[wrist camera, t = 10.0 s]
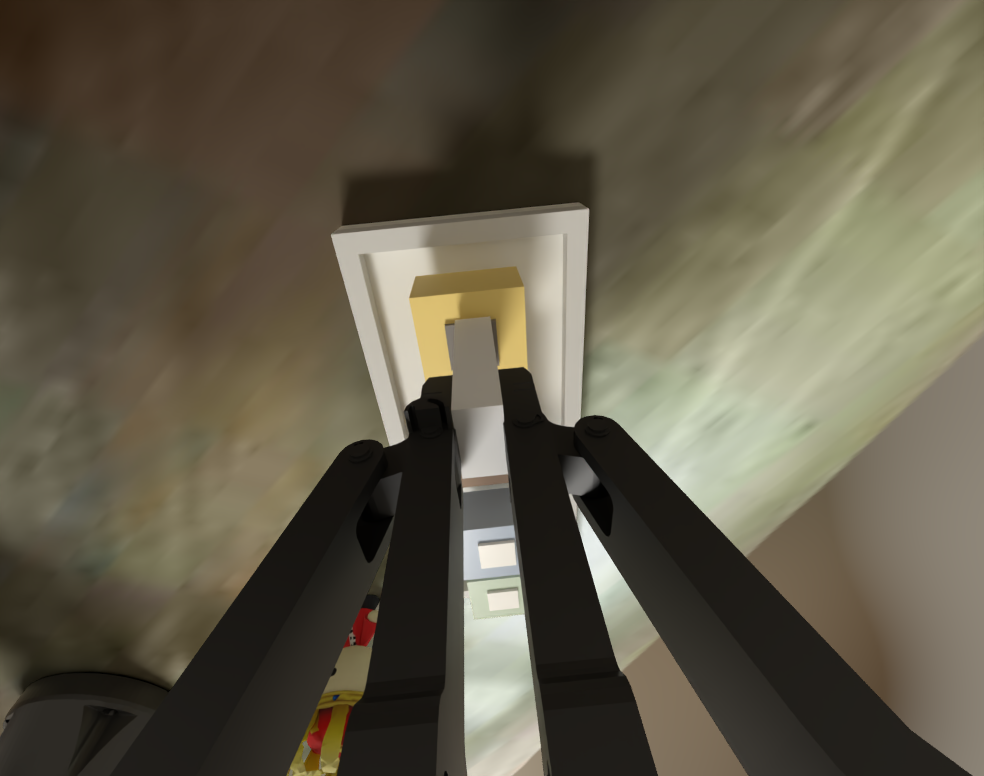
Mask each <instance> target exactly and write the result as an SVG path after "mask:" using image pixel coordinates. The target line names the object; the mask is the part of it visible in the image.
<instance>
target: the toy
mask: <svg viewBox="0 0 984 776" xmlns="http://www.w3.org/2000/svg"><path fill="white" fill-rule="evenodd" d="M379 601H380V600H379V598H378V597H377V596H374V595H367V596H366V598H365V600H364V602H363V605H362V607H361V609H360V611H359V614H358V616H357V618H356V620H355V622H354V625H353V627H352V629H351V631H350V634H349V636H348V638H347V640H346V643H345V645H344V647H343V649H342V652H341V654H340V656H339V658H338V661H337V663H336V665H335V667H334V670H333V672H332V674H331V676H330V679H329V681H328V683H327V685H326V688H325V690H324V692H323V694H322V697H321V699H320V701H319V703H318V706H317V708H316V710H315V712H314V714H313V717H312V719H311V721H310V723H309V726H308V728H307V730H306V732H305V735H304V737H303V739H302V741H301V744H300V746H299V748H298V750H297V753H296V755H295V757H294V759H293V762H292V764H291V766H290V768H289V771H290V769H292V770H293V776H320V775H321V774H324V773H325V774H326V775H325V776H337V772H338V766H339V761H340V756H341V751H342V746H343V741H344V735H345V731H346V727H347V723H348V719H349V715H350V713H351V711H352V708H353V706H354V704H356V703H357V702H358V701H359V700H360V699H361V698H362V696H363V693H364V690H365V686H366V681H367V675H368V669H369V663H370V658H371V652H372V649H371V648H369V647H366V646H367V645H368V643H369V641H370V640H371V638H372V637H373V635H374V633H375V629H376V623H377V617H378V611H377V610H375V609H376V607H377V605H378V603H379ZM306 740H307V743H308V745H309V746H310V748H311V751H310V753H309V755H308V757H307V759H306V760H305V762H304V763H303V760H302V753H303V748H304V747H303V745H302V743H303V742H304V741H306ZM320 756H321V767H322V769H320V770H319V759H320ZM289 771H288V773H287V775H286V776H288V774H289Z"/></svg>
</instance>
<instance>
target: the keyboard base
mask: <svg viewBox="0 0 984 776" xmlns="http://www.w3.org/2000/svg"><path fill="white" fill-rule="evenodd" d="M588 226H589V208H587V207H585V206H584V205H582V204H581V203H579V202H577V203H567V204H557V205H547V206H537V207H527V208H517V209H507V210H497V211H486V212H476V213H466V214H456V215H446V216H436V217H426V218H416V219H406V220H396V221H386V222H376V223H366V224H356V225H346V226H341V227H340V228H338V229H337V230H336V231H335V232H333V233H332V234H331V237H332V240H333V244H334V247H335V251H336V255H337V258H338V262H339V265H340V269H341V272H342V276H343V280H344V283H345V287H346V290H347V294H348V297H349V301H350V305H351V308H352V312H353V315H354V319H355V323H356V326H357V330H358V333H359V337H360V340H361V344H362V348H363V351H364V355H365V358H366V362H367V365H368V369H369V373H370V376H371V380H372V383H373V387H374V391H375V394H376V398H377V401H378V405H379V408H380V412H381V416H382V419H383V423H384V426H385V430H386V433H387V437H388V441H389V444H390V446H392V445H395V444H397V443H400V442H402V441H404V440H405V439H407V438H408V436H409V432H408V428H407V423H406V419H405V415H404V410H405V408H406V406H407V405H408V404H410V403H411V402H412V401H414V400H417V399H419V398H420V397H421V391H422V385H423V384H424V383H425V377H424V372H423V367H422V362H421V357H420V352H419V347H418V342H417V337H416V332H415V327H414V322H413V317H412V312H411V307H410V302H409V296H410V293H411V290H412V286H413V283H414V280H415V277H416V276H423V275H433V274H443V273H453V272H463V271H473V270H483V269H493V268H503V267H513V266H516V267H517V270H518V272H519V275H520V277H521V280H522V282H523V285H524V291H525V316H526V340H527V364H528V371H529V372H530V373H531V374H532V378H533V382H534V385H535V390H536V393H537V396H538V400H539V404H540V407H541V411H542V413H543V414H544V415H545V416H546V418H547V419H548V421H550V422H552V423H554V424H557V425H561V426H568V427H574V426H575V423H576V422H577V421H578V420H579V419H581V396H582V372H583V347H584V323H585V299H586V275H587V250H588ZM500 488H509V483H503V484H494V485H484V486H475V487H466V488H463V492H471V491H481V490H490V489H500ZM569 497H570V500H571V504H572V508H573V511H574V515H575V518H576V517H577V504H576V502H575V501H574V498H573V496H572V494H569ZM464 598H470V597H469V591H468V586H467V580H464Z"/></svg>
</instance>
